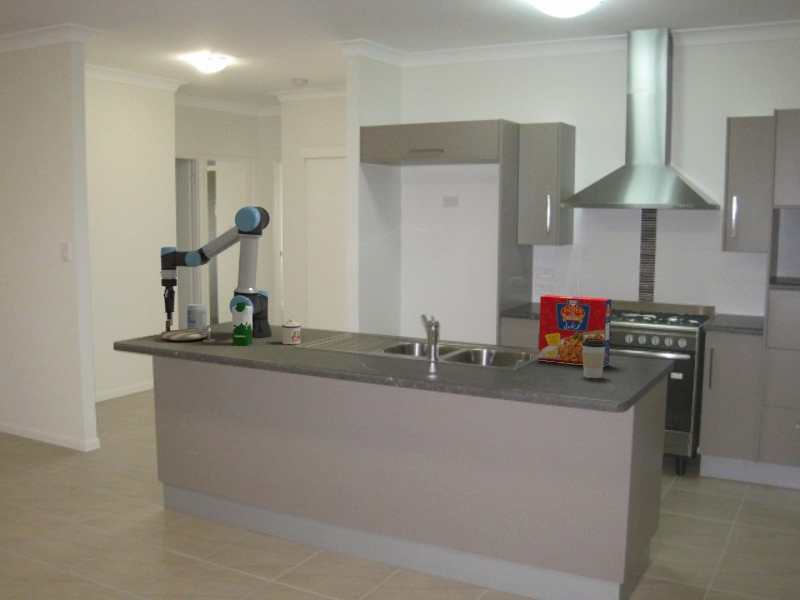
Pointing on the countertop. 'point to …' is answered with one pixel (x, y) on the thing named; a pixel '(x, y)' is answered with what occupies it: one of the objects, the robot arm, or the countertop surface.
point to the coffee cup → (593, 357)
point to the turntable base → (184, 340)
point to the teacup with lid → (291, 332)
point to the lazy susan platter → (182, 333)
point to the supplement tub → (196, 316)
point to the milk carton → (242, 324)
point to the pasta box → (572, 326)
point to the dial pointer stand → (208, 335)
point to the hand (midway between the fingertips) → (170, 325)
